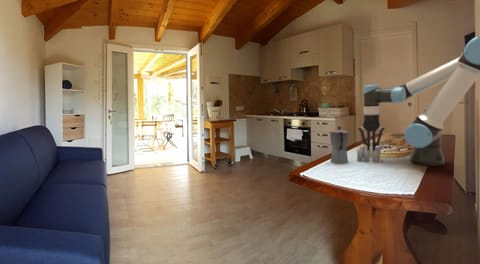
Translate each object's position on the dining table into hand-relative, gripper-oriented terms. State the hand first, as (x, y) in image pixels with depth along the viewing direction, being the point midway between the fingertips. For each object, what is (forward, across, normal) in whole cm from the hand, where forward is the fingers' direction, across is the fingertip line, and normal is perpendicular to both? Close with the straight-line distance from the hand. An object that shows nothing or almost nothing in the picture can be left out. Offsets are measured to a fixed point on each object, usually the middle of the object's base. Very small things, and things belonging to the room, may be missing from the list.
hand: (371, 157), depth 158 cm
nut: (+1, -3, 0) cm, 3 cm away
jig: (+2, +1, 0) cm, 2 cm away
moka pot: (+2, +14, +10) cm, 18 cm away
